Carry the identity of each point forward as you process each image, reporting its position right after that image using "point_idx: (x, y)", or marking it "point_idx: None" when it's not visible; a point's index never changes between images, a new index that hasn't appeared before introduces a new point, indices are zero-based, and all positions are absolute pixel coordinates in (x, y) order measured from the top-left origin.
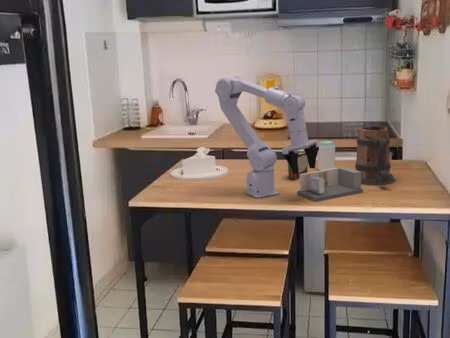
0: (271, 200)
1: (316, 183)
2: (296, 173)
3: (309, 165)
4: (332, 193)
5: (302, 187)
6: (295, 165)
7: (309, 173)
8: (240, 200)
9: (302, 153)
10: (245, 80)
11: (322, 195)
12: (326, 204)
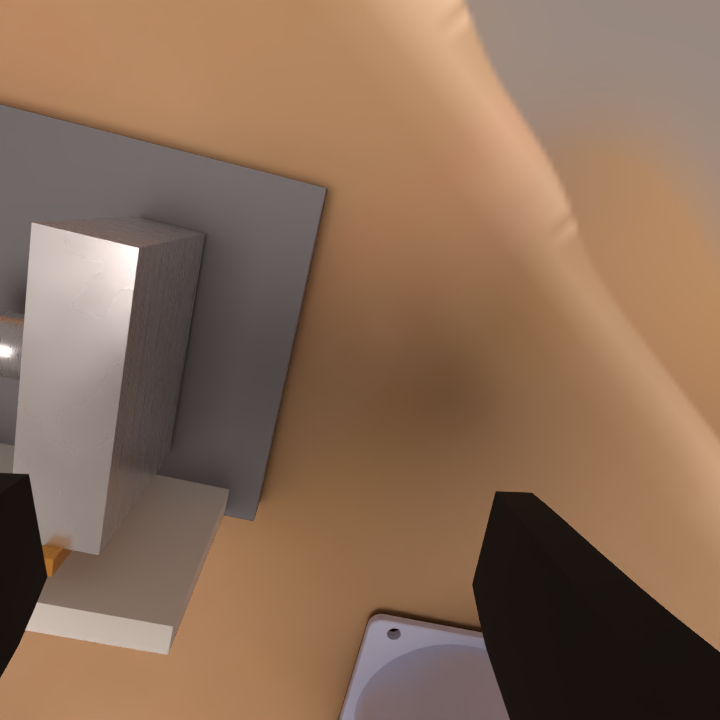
0: None
1: (154, 313)
2: (536, 505)
3: (13, 630)
4: (32, 166)
5: (202, 506)
6: (686, 629)
7: None
8: None
9: None
10: None
11: (185, 201)
12: (323, 16)
